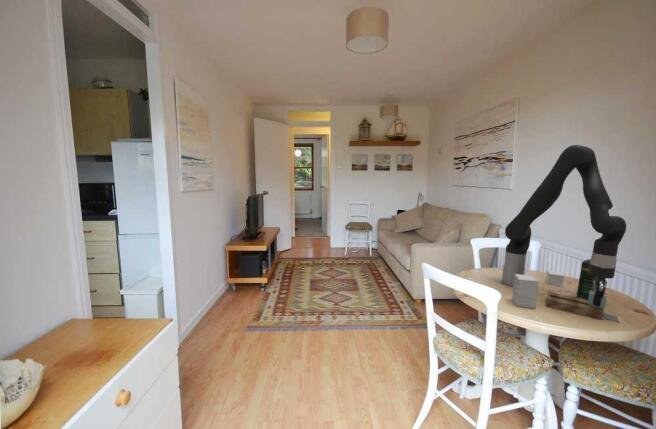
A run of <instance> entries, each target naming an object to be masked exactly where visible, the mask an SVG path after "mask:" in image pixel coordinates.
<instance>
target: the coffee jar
mask: <svg viewBox="0 0 656 429" xmlns="http://www.w3.org/2000/svg"><path fill="white" fill-rule="evenodd" d="M590 261H591V258H590V259H585V260H583V261H582V262H581V266H580V273H579V279H578V286H577V291H576V296H577V298H580V299H585V300H588V299H589V292H590V290H592V291H593V278H596V276H593V275H591V274H589V267H590Z"/></svg>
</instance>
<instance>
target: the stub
mask: <svg viewBox="0 0 656 429" xmlns="http://www.w3.org/2000/svg"><path fill="white" fill-rule="evenodd" d="M594 292H595V291H592V290H590V292H589V299H588V305H589V306H594V307H599V308H603V311H604V312H605V307H606V302H607V296H608V294H607V293H606V292H605V293H604V297H603V298H602V299H601V305H600V306H596V305H593V300H594ZM597 294H598V293H597ZM603 315H604V314H603Z"/></svg>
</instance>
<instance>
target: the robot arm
mask: <svg viewBox="0 0 656 429" xmlns="http://www.w3.org/2000/svg"><path fill="white" fill-rule="evenodd" d="M575 169H576V171H577V172H578V173H579V175H580V177H581V180H582V192H583V196H584V200H585V201H586V204H587V206H588V208H589V218H590V224H591V226H592V228H593V230H594V231H595V232H597V233H598V234H602V235H601V236H600V237H598V238H597V239H595V240H594V242H593V248H592V253H591V256H590V259H591V261H590V267H589V274H591V275H593V276H596V278H593V291H595V292H594V300H593V305H596V306H600V305H601V299H602V298H603V297H604V293H606V290H607V286H608V281H607V280H606V279H613V278H614V277H615V273H616V267H617V260H618V259H617V255H618V249H619V245H620V243H621V241H622V239H623V238H624V236H625V234H626V231H627V223H626V220H625V219H624V218H622V217H621V216H618V215H610V212H609V210H611V209H612V208H613V207H614V206H613V202H612V200H611V198H610V196H609V194H608V191H607V189H606V187H605V185H604V183H603V179H602V177H601V174H600V170H599V167H598V161H597V156H596V153H595V151H594V150H593V149H592V148H590V147H588V146H584V145H580V144H572V145H570V146H568V147H566V148H565V149H564V150H563V151H562V152H561V154H560V155H559V157H558V158H557V160H556V161H555V163H554V165H553V166H552V168H551V170H550V171H549V172H548V174H547V175H546V177H545V178H544V179H543V180H542V182H541V184H539V186H538V187H537V188H535V191H534V192H533V193H532V195H531V196H530V198H529V199H528V200H527V201H526V203H525V204H524V206H523V207H522V208H521V209H520V211H519V212H518V213H517V215H516V216H515V217H514V218H513V219H512V220H511V221H510V222H509V223H508V224H507V225H506V227H505V229H504V235H505V236H506V238H507V239H508V240H509V243H508V244H506V246H505V255H504V263H503V264H504V265H503V268H502V275H501V276H502V277H501V284H505V285H507V286H509V287H513V284H514V274H521V275H525V270H526V265H527V264H526V262H527V256H528V255H527V254H528V250H529V248H530V245H531V237H532V229H531V225H532V223H533V222H534V221H535V220H537V219H538V218H539V217H541V216H543V214H544V213H545V212H547V211H548V210H549V209H550V208H551V207H552V206H553V205H554V204H555V203H556V201H557V200H558V199H559V198H560V196H561V194H562V191H563V188H564V184H565V182H566V179H567V178H568V177H569V175H570V174H571V173H572V172H573V171H574V170H575ZM597 293H598V294H597Z"/></svg>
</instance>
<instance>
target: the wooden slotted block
mask: <svg viewBox="0 0 656 429" xmlns="http://www.w3.org/2000/svg"><path fill="white" fill-rule="evenodd" d="M545 307H547V308H550V309H555V310H559V311H563V312H568V313H571V314H575V315H580V316H583V317H587V318H592V319H596V320H599V321H600V320H601V321H603V320H604V318H603V314H604V313H605V310H604V311H603V308H599V307H594V306H589V305H588V300H585V299H582V298H580V297H576V296H575V297H574V296H570V295H567V294H566V295H565V294H562V293H557V292H553V291H547V295H546V304H545Z"/></svg>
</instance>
